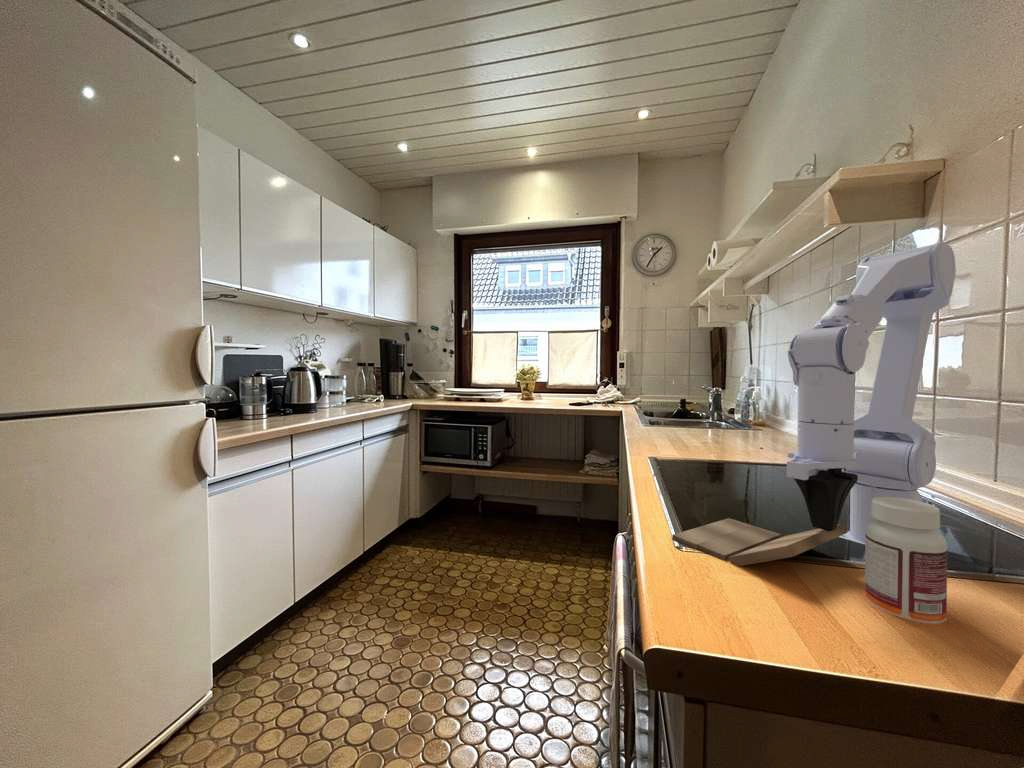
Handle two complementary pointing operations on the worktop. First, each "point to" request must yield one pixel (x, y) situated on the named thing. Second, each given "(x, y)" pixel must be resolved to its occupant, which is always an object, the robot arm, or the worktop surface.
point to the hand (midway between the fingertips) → (823, 528)
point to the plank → (786, 546)
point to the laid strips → (725, 538)
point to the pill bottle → (906, 560)
